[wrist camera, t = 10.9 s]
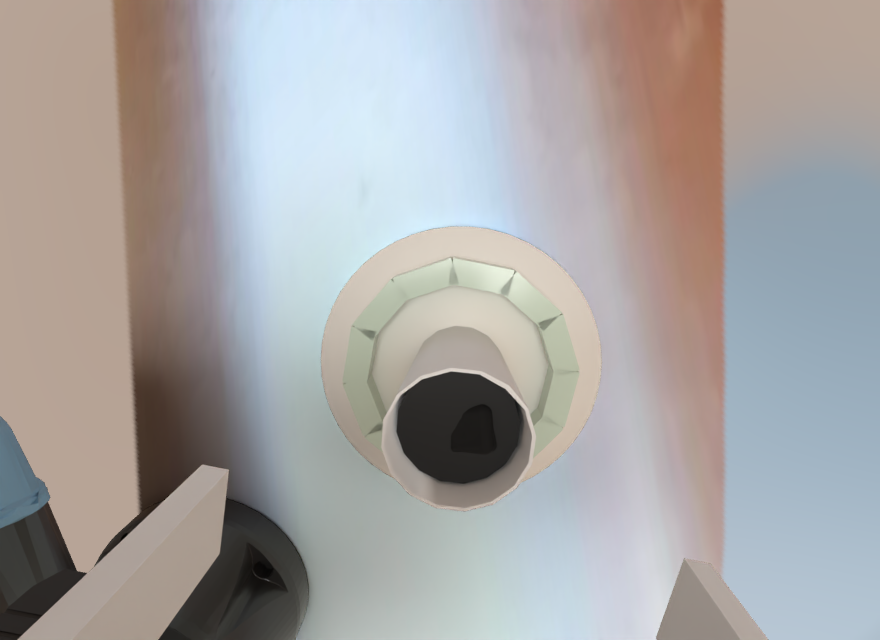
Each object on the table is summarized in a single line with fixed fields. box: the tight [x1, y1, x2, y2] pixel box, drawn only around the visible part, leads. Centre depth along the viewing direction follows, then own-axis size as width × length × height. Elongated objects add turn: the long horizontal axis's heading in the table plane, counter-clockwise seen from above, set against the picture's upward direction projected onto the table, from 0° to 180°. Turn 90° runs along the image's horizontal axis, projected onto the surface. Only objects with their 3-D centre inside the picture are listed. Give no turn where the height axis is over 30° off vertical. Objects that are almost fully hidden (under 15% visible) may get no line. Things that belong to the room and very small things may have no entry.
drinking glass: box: [381, 326, 536, 511], centre depth 24 cm, size 7×7×10 cm
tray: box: [321, 227, 602, 483], centre depth 29 cm, size 18×18×3 cm
